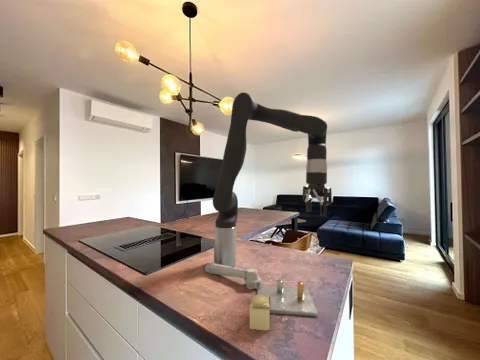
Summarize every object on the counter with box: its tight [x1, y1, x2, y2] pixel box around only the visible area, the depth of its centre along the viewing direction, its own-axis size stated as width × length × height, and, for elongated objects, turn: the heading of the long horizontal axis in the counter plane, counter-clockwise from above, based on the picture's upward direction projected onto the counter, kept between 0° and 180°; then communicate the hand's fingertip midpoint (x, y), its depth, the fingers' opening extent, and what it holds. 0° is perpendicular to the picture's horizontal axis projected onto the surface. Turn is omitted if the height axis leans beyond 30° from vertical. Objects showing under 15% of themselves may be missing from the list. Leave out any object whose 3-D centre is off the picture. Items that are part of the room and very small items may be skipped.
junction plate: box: [256, 279, 319, 318], centre depth 65 cm, size 17×13×6 cm
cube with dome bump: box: [249, 294, 271, 331], centre depth 55 cm, size 5×5×7 cm
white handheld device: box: [203, 261, 262, 290], centre depth 79 cm, size 5×7×25 cm
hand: (315, 213), depth 79 cm, fingers open, 8 cm apart
